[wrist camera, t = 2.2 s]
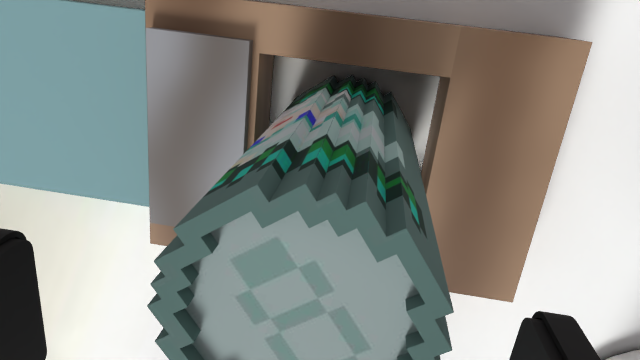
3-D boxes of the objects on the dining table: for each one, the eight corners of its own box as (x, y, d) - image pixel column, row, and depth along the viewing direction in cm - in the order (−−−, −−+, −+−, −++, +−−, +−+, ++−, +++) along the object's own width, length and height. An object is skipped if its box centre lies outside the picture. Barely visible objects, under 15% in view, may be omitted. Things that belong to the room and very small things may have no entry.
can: (371, 53, 22) (352, 133, 8) (428, 162, 24) (496, 388, 10) (264, 115, 24) (98, 268, 10) (324, 212, 25) (253, 467, 11)
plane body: (564, 37, 21) (598, 43, 17) (497, 269, 25) (515, 309, 22) (174, -9, 22) (137, -12, 19) (174, 218, 26) (144, 249, 23)
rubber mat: (154, 10, 23) (145, 10, 22) (157, 199, 26) (149, 206, 25) (-38, -13, 23) (-55, -14, 22) (-9, 173, 27) (-24, 179, 26)
